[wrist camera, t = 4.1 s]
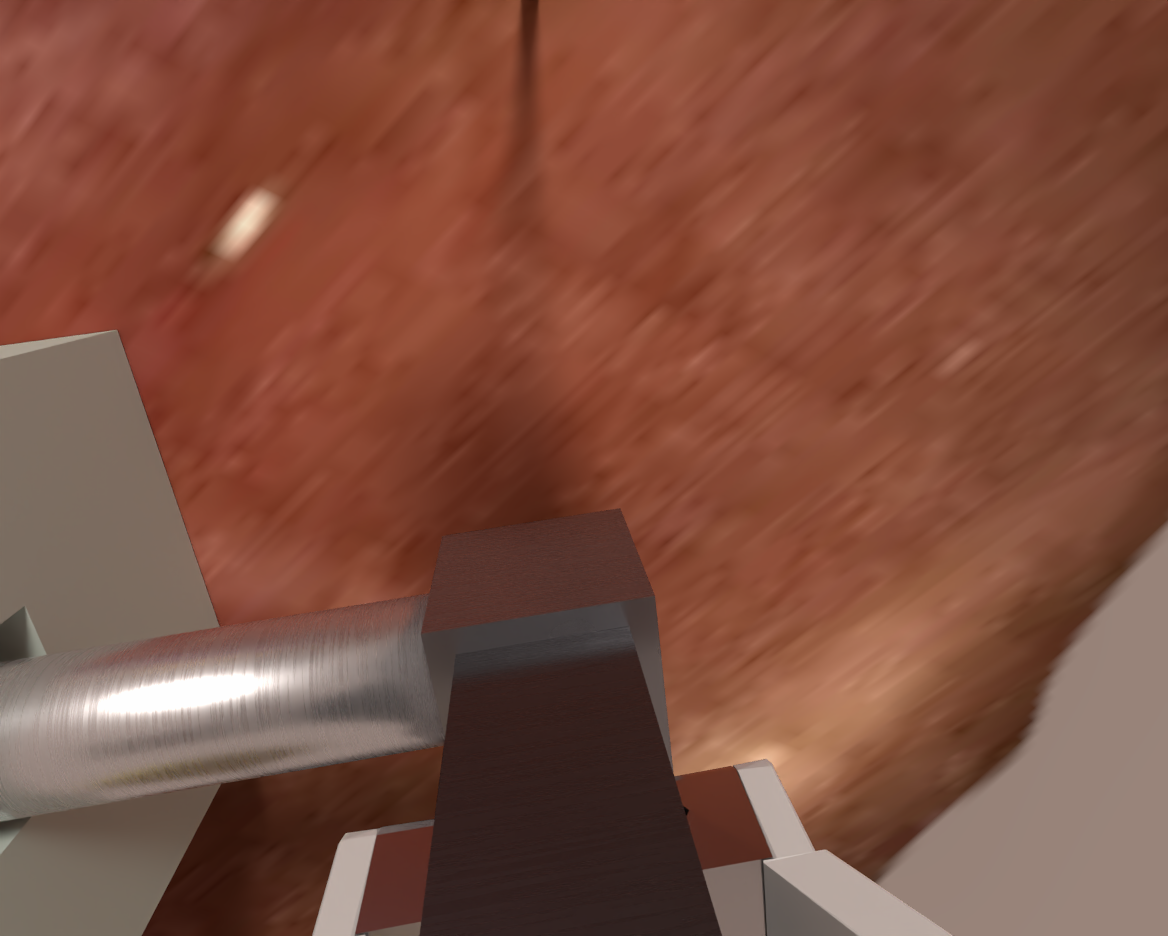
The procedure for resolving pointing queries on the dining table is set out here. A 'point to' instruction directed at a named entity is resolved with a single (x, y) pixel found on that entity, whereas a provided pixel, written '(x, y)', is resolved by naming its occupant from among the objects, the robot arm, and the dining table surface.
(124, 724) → the hammer
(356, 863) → the robot arm
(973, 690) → the dining table surface
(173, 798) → the grey slotted block
